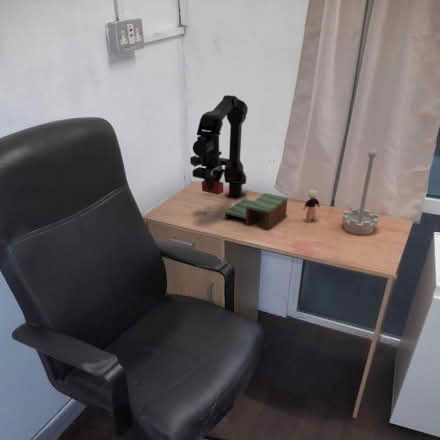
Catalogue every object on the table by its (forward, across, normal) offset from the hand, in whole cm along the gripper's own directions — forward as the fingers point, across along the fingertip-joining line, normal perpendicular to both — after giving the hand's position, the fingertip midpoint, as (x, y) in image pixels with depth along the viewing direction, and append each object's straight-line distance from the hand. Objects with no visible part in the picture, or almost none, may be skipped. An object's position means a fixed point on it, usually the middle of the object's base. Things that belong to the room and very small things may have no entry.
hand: (212, 189), depth 168 cm
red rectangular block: (+1, 0, 0) cm, 1 cm away
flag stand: (+12, -20, +55) cm, 59 cm away
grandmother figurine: (+12, -16, +36) cm, 41 cm away
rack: (+11, -7, +16) cm, 21 cm away
